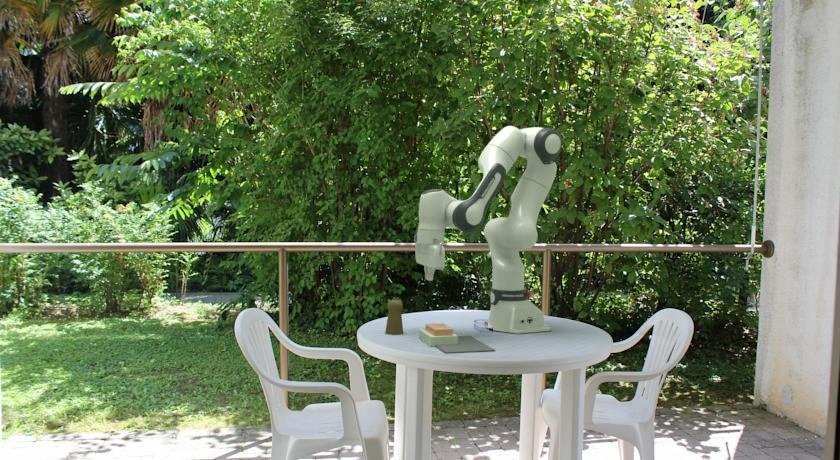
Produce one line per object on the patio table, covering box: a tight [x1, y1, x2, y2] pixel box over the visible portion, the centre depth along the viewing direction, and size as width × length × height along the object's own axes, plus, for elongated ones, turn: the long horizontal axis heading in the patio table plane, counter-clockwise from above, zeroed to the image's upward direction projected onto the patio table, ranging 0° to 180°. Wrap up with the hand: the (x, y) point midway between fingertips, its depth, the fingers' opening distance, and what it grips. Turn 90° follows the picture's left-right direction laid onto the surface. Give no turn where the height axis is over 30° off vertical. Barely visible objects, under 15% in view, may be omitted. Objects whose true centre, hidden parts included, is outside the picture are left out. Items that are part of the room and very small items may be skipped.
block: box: [425, 323, 454, 336], centre depth 227 cm, size 6×9×2 cm, turn 18°
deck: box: [418, 328, 459, 348], centre depth 228 cm, size 9×12×3 cm
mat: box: [435, 335, 496, 355], centre depth 225 cm, size 16×21×1 cm
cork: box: [385, 299, 404, 336], centre depth 240 cm, size 6×6×11 cm
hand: (429, 280), depth 236 cm, fingers closed
